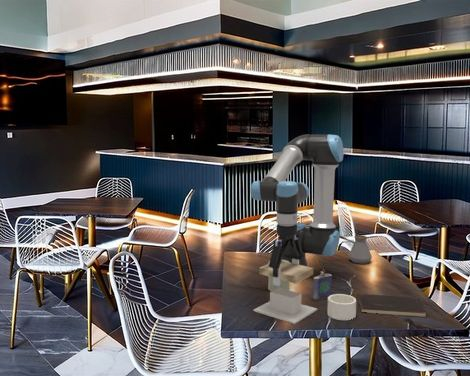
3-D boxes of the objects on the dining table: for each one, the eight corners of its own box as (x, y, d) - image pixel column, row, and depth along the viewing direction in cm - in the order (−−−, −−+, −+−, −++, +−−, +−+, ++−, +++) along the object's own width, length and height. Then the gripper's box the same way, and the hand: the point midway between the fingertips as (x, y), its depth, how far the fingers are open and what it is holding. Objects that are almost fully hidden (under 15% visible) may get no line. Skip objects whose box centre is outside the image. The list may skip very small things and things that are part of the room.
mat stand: (253, 311, 177) (253, 293, 176) (277, 298, 189) (277, 282, 188) (294, 324, 165) (294, 305, 164) (317, 310, 178) (317, 292, 177)
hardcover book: (426, 318, 172) (426, 312, 171) (361, 314, 175) (361, 308, 175) (416, 302, 187) (417, 296, 187) (357, 298, 191) (357, 293, 191)
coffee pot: (368, 258, 245) (369, 230, 243) (374, 265, 234) (375, 235, 231) (327, 257, 246) (328, 229, 244) (330, 264, 234) (331, 235, 232)
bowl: (322, 315, 173) (323, 299, 172) (335, 307, 181) (335, 292, 180) (347, 322, 167) (348, 306, 166) (359, 313, 174) (360, 298, 174)
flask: (315, 300, 187) (316, 274, 186) (310, 298, 190) (311, 272, 188) (333, 296, 192) (333, 270, 190) (328, 294, 194) (328, 268, 193)
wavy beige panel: (259, 274, 176) (259, 267, 175) (277, 266, 185) (277, 259, 185) (296, 283, 166) (296, 276, 166) (313, 274, 175) (313, 268, 175)
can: (283, 294, 194) (284, 266, 192) (264, 289, 199) (264, 262, 197) (293, 287, 202) (293, 260, 200) (274, 283, 207) (274, 257, 205)
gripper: (276, 231, 161) (276, 292, 164) (312, 219, 179) (311, 273, 183) (259, 228, 165) (258, 287, 169) (295, 216, 184) (294, 269, 187)
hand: (286, 280), depth 176 cm, fingers closed on wavy beige panel, 12 cm apart
